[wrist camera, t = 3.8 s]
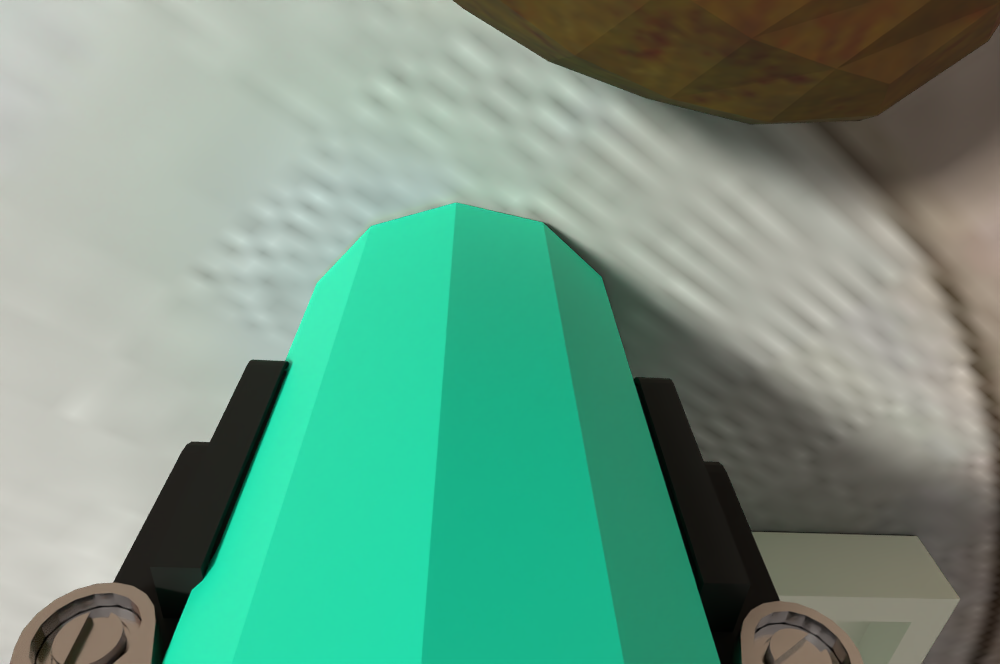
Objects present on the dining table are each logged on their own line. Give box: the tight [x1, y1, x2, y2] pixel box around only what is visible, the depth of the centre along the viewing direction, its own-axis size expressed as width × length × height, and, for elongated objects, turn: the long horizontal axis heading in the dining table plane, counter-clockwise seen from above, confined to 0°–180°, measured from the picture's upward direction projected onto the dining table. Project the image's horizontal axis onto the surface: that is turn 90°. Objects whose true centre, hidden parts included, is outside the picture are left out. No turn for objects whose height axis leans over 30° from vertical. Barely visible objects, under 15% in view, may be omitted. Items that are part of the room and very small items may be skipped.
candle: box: [162, 203, 721, 664], centre depth 9 cm, size 6×6×12 cm
